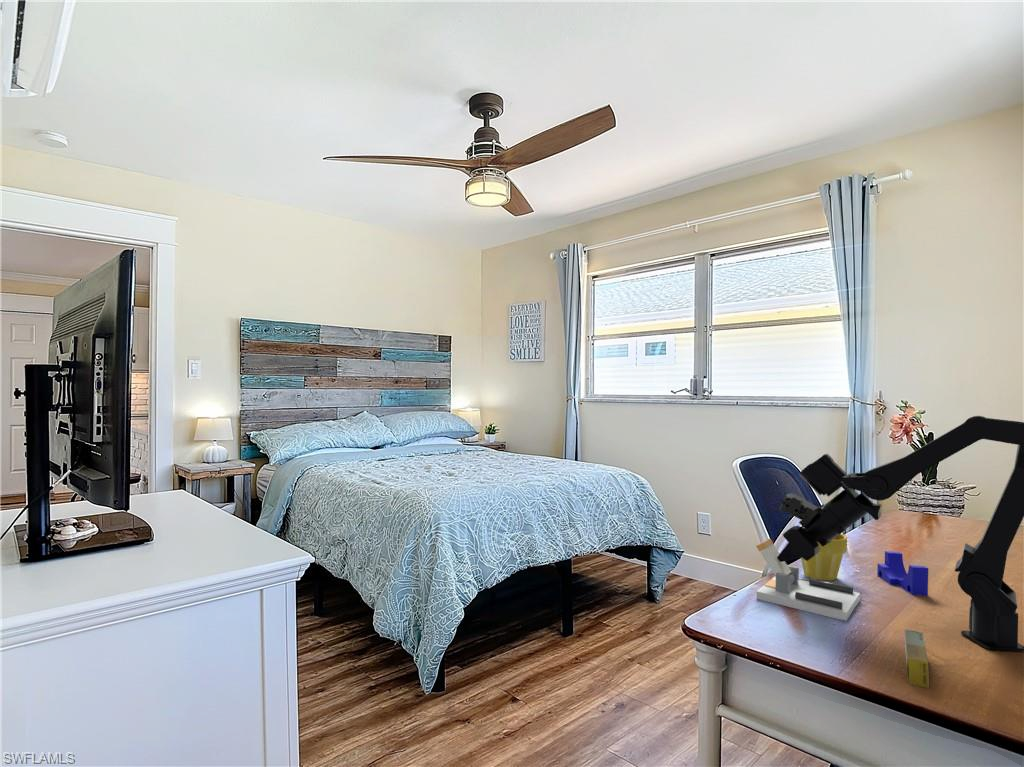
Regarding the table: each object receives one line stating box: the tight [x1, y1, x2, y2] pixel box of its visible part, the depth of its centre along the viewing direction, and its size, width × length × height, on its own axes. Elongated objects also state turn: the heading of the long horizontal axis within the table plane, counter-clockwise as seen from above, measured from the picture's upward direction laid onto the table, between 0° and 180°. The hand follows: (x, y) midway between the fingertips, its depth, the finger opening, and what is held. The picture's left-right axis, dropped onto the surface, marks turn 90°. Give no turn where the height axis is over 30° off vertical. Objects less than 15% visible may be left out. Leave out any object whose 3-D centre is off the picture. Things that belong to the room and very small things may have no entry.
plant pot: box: [800, 533, 848, 582], centre depth 132 cm, size 10×10×10 cm
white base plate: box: [755, 564, 861, 622], centre depth 117 cm, size 16×14×5 cm
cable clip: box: [876, 550, 929, 597], centre depth 127 cm, size 12×4×6 cm, turn 171°
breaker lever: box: [755, 538, 795, 584], centre depth 121 cm, size 2×5×9 cm
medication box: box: [904, 629, 930, 689], centre depth 88 cm, size 12×3×4 cm, turn 147°
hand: (778, 559), depth 120 cm, fingers closed, pressing on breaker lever
